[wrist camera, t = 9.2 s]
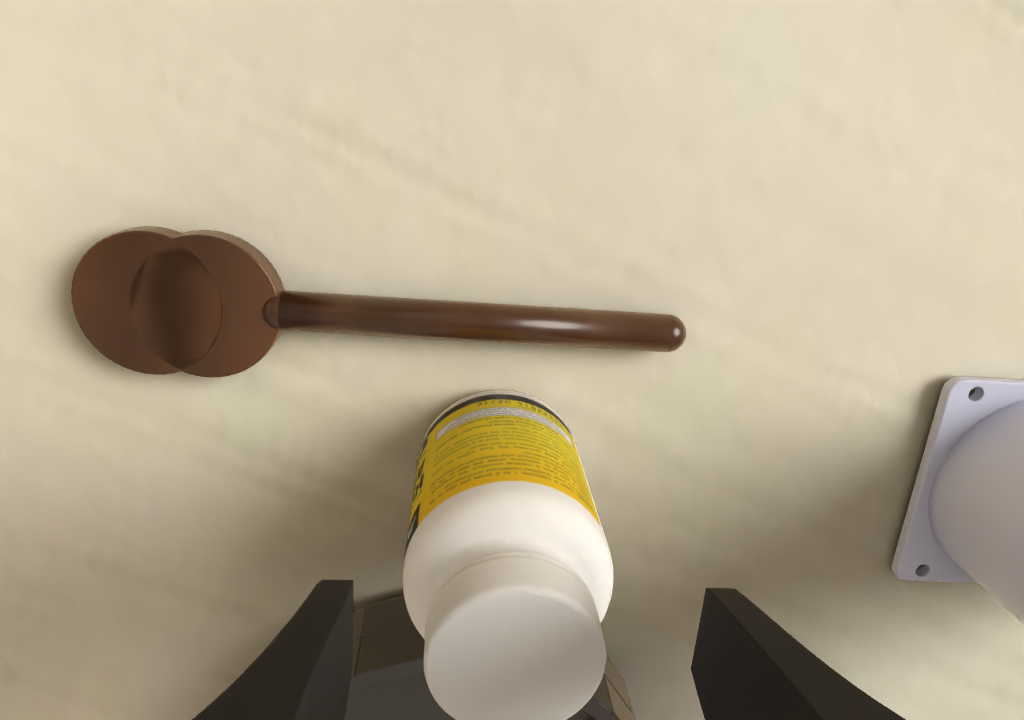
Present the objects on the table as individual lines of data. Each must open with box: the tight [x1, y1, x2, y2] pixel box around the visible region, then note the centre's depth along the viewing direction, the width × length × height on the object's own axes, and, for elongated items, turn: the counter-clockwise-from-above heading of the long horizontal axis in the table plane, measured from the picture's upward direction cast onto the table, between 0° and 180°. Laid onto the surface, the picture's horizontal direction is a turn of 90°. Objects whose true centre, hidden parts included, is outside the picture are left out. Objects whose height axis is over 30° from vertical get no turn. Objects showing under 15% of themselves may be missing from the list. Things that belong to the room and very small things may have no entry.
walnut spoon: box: [71, 227, 686, 377], centre depth 22 cm, size 19×4×1 cm, turn 85°
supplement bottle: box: [403, 390, 613, 720], centre depth 20 cm, size 5×5×10 cm
